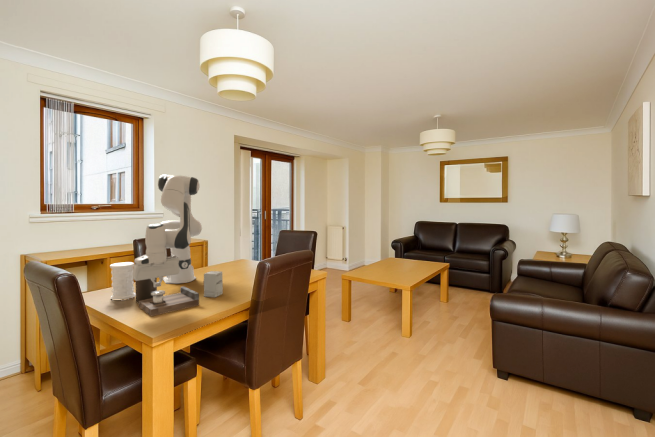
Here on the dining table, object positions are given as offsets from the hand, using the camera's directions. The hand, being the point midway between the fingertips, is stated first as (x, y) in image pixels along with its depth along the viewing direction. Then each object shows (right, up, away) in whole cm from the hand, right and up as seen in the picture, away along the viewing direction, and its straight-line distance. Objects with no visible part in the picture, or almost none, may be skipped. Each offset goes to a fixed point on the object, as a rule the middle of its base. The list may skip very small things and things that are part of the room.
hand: (157, 286), depth 160 cm
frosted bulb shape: (0, -11, 0) cm, 11 cm away
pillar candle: (-12, -10, +12) cm, 20 cm away
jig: (+4, -10, +4) cm, 12 cm away
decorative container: (-27, -10, +18) cm, 34 cm away
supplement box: (+19, -10, +22) cm, 31 cm away
